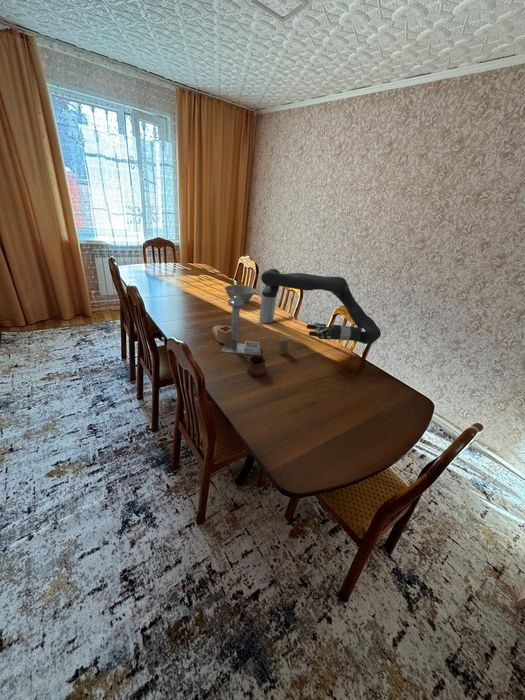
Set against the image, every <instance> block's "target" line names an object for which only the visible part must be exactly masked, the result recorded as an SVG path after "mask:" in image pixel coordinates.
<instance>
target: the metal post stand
mask: <svg viewBox="0 0 525 700" xmlns="http://www.w3.org/2000/svg"><path fill="white" fill-rule="evenodd" d="M240 298H241V297H240V296H233V299H230V298H229V299H228V300H227V304H228V305H229V306H232V309H231V323H230V324H231V326H230V327H231V340H230V343H223V346H222V349H221V352H222V353H233V354H240V355H241V354H242V355H252V356H261V355H262V345H260V341H250V340H249V341H248V340H245V341H244V343H238V341H239V339H238V338H239V323H240V310H241V307H243V306H246V305H245V304H246V303H245V302H244V301H243V300H240Z"/></svg>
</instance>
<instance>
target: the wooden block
mask: <svg viewBox="0 0 525 700" xmlns="http://www.w3.org/2000/svg"><path fill="white" fill-rule="evenodd" d="M288 347H289V340H288V339H287V338H286V337H278V341H277V347H276V349H277V350H276V352H277V353H278V354H279V356H280V355H281V356H282V355H287V353H288Z"/></svg>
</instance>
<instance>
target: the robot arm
mask: <svg viewBox="0 0 525 700" xmlns="http://www.w3.org/2000/svg"><path fill="white" fill-rule="evenodd" d="M260 280H261V282H262V283H263V284H264V285H265V286H264V288H263V289H262V291H261V301H260V311H259V320H258V321H260V322H261V323H264V324H272V323H274V318H275V311H276V310H275V309H276V302H277V295H278V292H279V289H280V287H285V288H289V289H294V290H301V291H307V292H308V291H316V290H322V291H326V292H331V293H332V294H333V295H334V296H336V298H337V299H338V300H339V301H340V302H341V303H342V304H343V306H344V307H345V310H346V311H347V313H348V315H349V316H350V318H351V320H352V321H353V323H354V324H355V326H348V325H340V324H330V326H327V324H326V323H318V322H317V323H316V322H315V323H314V324H306V329H308V330H309V331H308V335H309V337H310V336H311V337H316V338H318V339H319V340H328V341H329V340H336V341H350V342H351V341H354V342H358V343H361V344H365V345H372V344H374V343H375V342H376V341H377V340H378V339H379V338H381V335H382V333H381V330H380V328H379V327H378V325H376V324H375V323H374V321H372V319H370V318H369V317H368V315H367V314H366V312H365V311H364V310H363V308H362V306H360V305H359V303H358V302H357V301H356V299H355V297H354V296H353V294H352V292H351V289H350V287H349V283H348V282H347V280H346V279H345V278H344V277H341V276H323V275H317V274H310V273H302V272H292V273H282V272H280V271H279V270H278V269H276V268H270V269H267V270H265V271H263V272H262V274H261V277H260ZM361 329H363V330H364V331H362V330H361ZM311 330H314V331H311Z"/></svg>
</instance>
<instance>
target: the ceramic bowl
mask: <svg viewBox="0 0 525 700" xmlns="http://www.w3.org/2000/svg"><path fill="white" fill-rule="evenodd" d="M224 290H225V292H226V294H227V296H228V298H229V300H230V299H233V296H240V297H241V298H240V300H243V301H244V302H245V304H246V303H249V301H250V300H251V299H252V297H253V296H254V294H255V293H256V289H255V287H251V286H249V285H243V284H231V285H226V286H224Z"/></svg>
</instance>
